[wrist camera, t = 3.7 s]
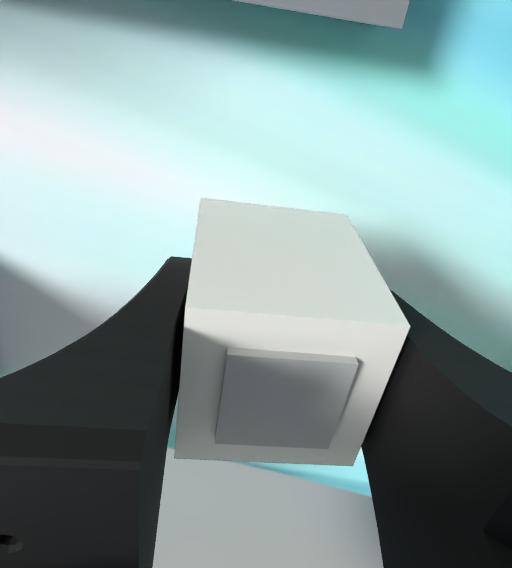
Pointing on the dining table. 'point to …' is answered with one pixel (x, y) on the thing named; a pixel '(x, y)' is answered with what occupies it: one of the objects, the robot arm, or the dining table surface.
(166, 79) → the dining table surface
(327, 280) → the plug block
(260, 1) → the socket plate
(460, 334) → the dining table surface
